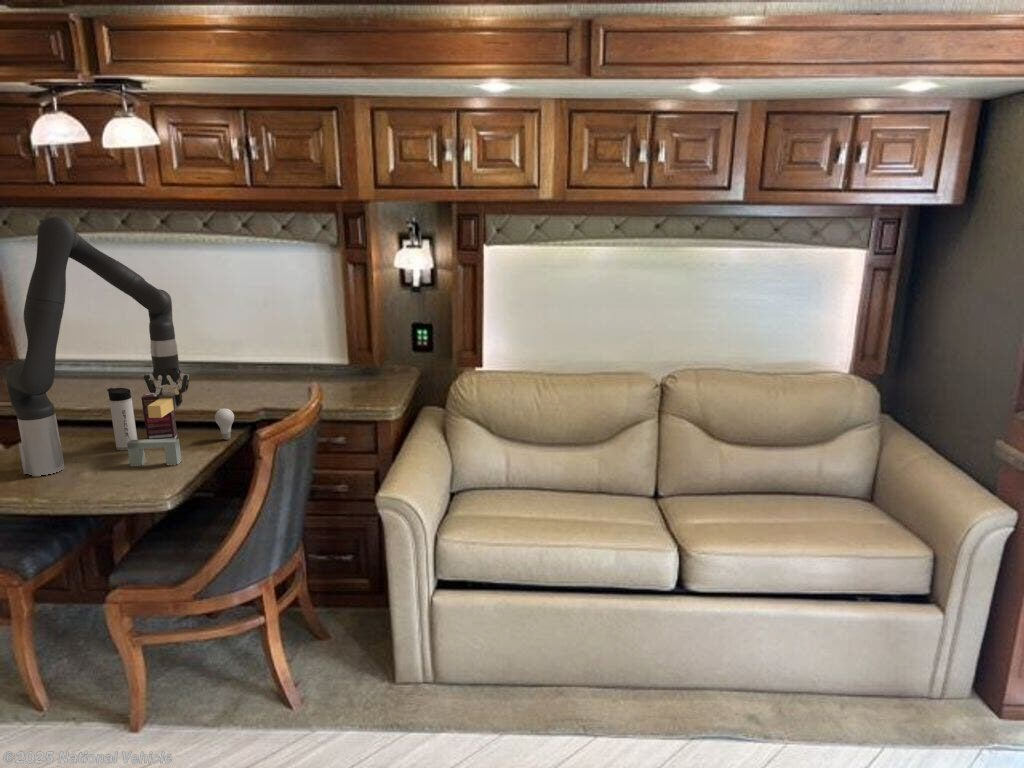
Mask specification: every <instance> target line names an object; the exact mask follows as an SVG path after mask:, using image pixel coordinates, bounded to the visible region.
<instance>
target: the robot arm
mask: <svg viewBox="0 0 1024 768" xmlns="http://www.w3.org/2000/svg"><path fill="white" fill-rule="evenodd" d="M37 227H38V228H37V231H36V232H37V233H36V234H37V241H36V243H37V245H36V258H35V264H34V267H33V271H32V274H31V276H30V280H29V283H28V284H29V285H28V286H27V287H28V288H27V292H26V296H25V297H26V298H25V303H24V307H23V323H24V329H25V333H26V340H27V346H26V347H27V348H26V353H25V359H24V360H22V361H16V362H14V363H13V364H12V365H11V366H9V368H8V370H7V372H6V376H5V377H6V386H7V391H8V395H9V399H10V403H11V406H12V409H13V411H14V412H15V413H16V414H15V415H16V419H17V424H18V430H19V434H20V440H21V442H20V443H19V444H18V449H19V455H20V460H21V465H22V471H23V475H24V474H29V475H32V476H31V477H42V476H41V475H46V476H49V475H48V474H51V475H54V474H53V473H55V474H56V472H58V473H60V472H62V471H63V470H65V461H64V456H63V450H62V444H61V439H60V434H59V425H58V420H57V414H56V411H55V410H56V408H55V406H54V404H53V402H52V401H51V400H50V399H49V397H48V395H47V393H48V392H49V391H50V389H52V386H53V385H54V382H55V374H56V358H57V357H56V355H57V346H58V342H59V341H58V340H59V335H60V329H61V324H62V318H63V315H64V310H65V304H66V295H67V293H66V291H67V267H68V266H67V265H68V261H69V259H71V260H74V261H75V262H77V263H79V264H81V265H82V266H84V267H85V268H87V269H89V270H90V271H92V272H93V273H95V274H96V275H97V276H99V277H100V278H102V279H103V280H104V281H106V282H108V283H109V284H110V285H111V286H112V287H114V288H116V289H118V290H120V291H121V292H123V293H124V294H125V295H128V296H129V297H131V298H132V299H133V300H134V301H135V302H137V303H138V304H139V305H140V306H142V307H144V308H145V309H146V310H147V312H148V318H149V323H148V329H149V330H148V331H149V338H150V341H149V342H150V357H151V363H152V364H151V365H152V369H153V370H152V373H147V374H144V375H143V379H144V382H145V384H146V386H147V389H148V391H149V394H150V393H155V394H156V395H157V400H158V399H159V395H161V394H163V393H164V392H163V391H164V387H165V386H166V385H168V386H171V389H173V391H174V393H175V394H176V395H175V398H176V405H177V406H179V405H180V406H181V405H182V404H183V402H184V401H183V393H185V392H187V391H188V390H189V384H190V381H191V379H190V378H191V374H190V373H189V372H188V373H183V372H182V371H181V370H180V363H179V362H180V361H179V353H178V345H177V341H176V333H175V326H174V321H173V302H172V298H171V296H170V294H169V292H167V291H166V290H164V289H162V288H161V289H160V288H157V287H156V286H154V285H152V284H151V283H149V282H148V281H146V279H145V278H144V277H142V275H140V274H139V273H137V272H136V271H134V270H133V269H131V268H130V267H128V266H127V265H125V264H123V263H122V262H121V261H119V260H116V259H115V258H113V257H111V256H110V255H108V254H106V253H104V252H103V251H101V250H99V249H98V248H96V247H95V246H93V245H92V244H90V243H89V242H88V241H87V240H86V239H84V238H83V237H82V236H81V235H80V234H78V232H76V229H75V227H74V226H73V224H72V223H70V222H69V221H68V220H67V219H65V218H63V217H60V216H59V217H58V216H50V217H46V218H45V219H43V220H42V221H41V222H40V223H39V225H38V226H37ZM179 378H180V380H181V381H182V383H180V382H179ZM154 379H155V380H156V384H155V382H154ZM61 470H62V471H61ZM59 471H60V472H59ZM29 475H28V476H29Z"/></svg>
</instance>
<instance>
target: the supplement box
mask: <svg viewBox="0 0 1024 768" xmlns="http://www.w3.org/2000/svg"><path fill="white" fill-rule="evenodd" d="M164 393H172V392H171V391H168V392H164ZM140 399H141V405H142V411H143V412H142V413H143V419H144V424H145V431H146V438H147V439H177V437H178V432H177V431H178V430H177V424H176V423H177V422H176V416H175V410H173V411H171V412H170V413H168V414H167V415H165V416H164V417H162V418H149V415H148V405H150V404H152V403H153V402H155V401H157V395H156V394H155V393H150V392H149V393H143V395H142V396H141V397H140ZM147 439H146V440H147Z"/></svg>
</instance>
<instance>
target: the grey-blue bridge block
mask: <svg viewBox="0 0 1024 768" xmlns="http://www.w3.org/2000/svg"><path fill="white" fill-rule="evenodd" d="M127 447H128V450H127V453H128V459H129V460H128V461H129V466H130V467H142V466H144V465H145V464H146V463H147V461H146V454H145V449H147V450H148V449H152V450H153V449H164V454H165V464H166V465H167V464H169V465H170V464H179V463H180V462H181V461H182V453H181V446H180V438H175V439H137V440H131V441H129V442H128V443H127ZM145 462H146V463H145ZM144 463H145V464H144ZM181 463H182V462H181ZM181 463H180V464H181ZM180 464H179V465H180ZM141 465H142V466H141Z"/></svg>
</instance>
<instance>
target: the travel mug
mask: <svg viewBox="0 0 1024 768" xmlns="http://www.w3.org/2000/svg"><path fill="white" fill-rule="evenodd" d="M106 391H107V392H108V399H109V408H110V415H111V420H112V427H113V435H114V440H115V447H116V450H117V451H128V447H127V443H128V442H129V441H131V440H138V433H137V427H136V419H135V414H134V406H133V400H132V399H133V398H132V393H131V389H129V388H126V387H115V388H113V387H109V388H107V390H106Z"/></svg>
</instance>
